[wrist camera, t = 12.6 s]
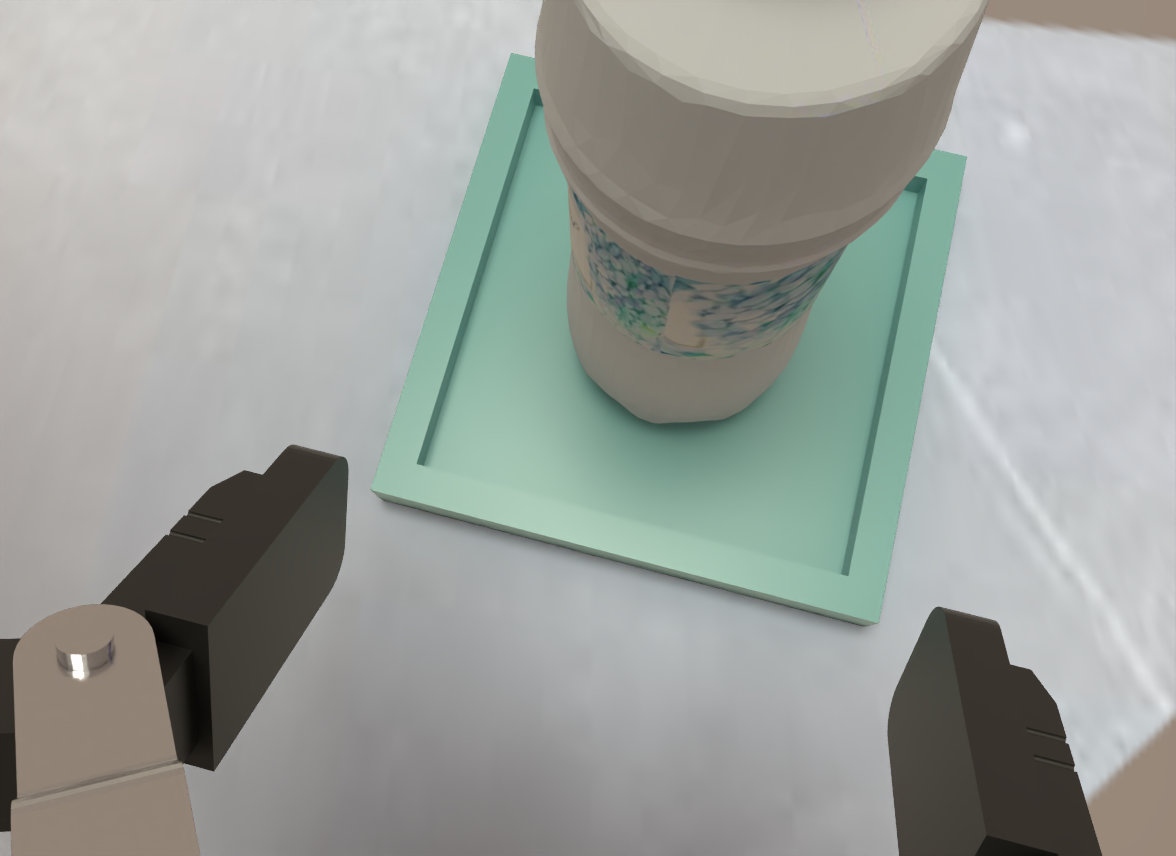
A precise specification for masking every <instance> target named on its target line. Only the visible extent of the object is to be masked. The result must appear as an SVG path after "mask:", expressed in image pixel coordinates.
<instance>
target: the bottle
mask: <svg viewBox="0 0 1176 856" xmlns="http://www.w3.org/2000/svg"><path fill="white" fill-rule="evenodd" d="M988 3H989V0H543V4H542V8H541V12H540V16H539V20H538V24H537V32H536V41H535V71H536V77H537V83H538V88H539V92H540V96H541V99H542V103H543V110H544V118H545V126H546V131H547V135H548V138H549V142H550V146H551V149H552V151H553V153H554V155H555V157H556V160H557V162H558V164H559V166H560V168H561V171H562V173H563V175H564V177H565V179H566V181H567V183H568V201H569V220H570V239H571V256H570V264H569V273H568V281H567V313H568V322H569V330H570V333H571V337H572V341H573V344H574V348H575V351H576V354H577V357H578V359H579V361H580V363H581V365H582V367H583V369H584V371H585V372H586V374H587V375H588V376H589V377H590V378H591V379H592V380H593V381H594V382H595V383H596V384H597V385H598V386H600V387H601V388H602V389H603V390H604V391H605V392H606V393H607V394H608V395H610V396H611V397H612V398H613V399H615V400H616V401H617V402H619V403H620V404H621V405H622V406H624V407H625V408H626V409H627V410H628V411H630V412H631V413H632V414H634V415H635V416H636V417H638V418H640V419H643V420H646V421H648V422H651V423H656V424H661V423H673V422H698V421H708V420H722V419H726V418H728V417H730V416H732V415H734V414H736V413H738V412H740V411H742V410H743V409H744V408H746V407H747V406H749V405H750V404H751V403H752V402H753V401H754V400H755V399H756V398H757V397H759V396H760V395H761V394H762V393H763V392H764V391H765V390H766V389H767V388H768V387H770V386H771V385H772V383H773V382H774V381H775V380H776V378H777V377H778V376H779V375H780V373H781V372H782V371H783V370H784V369H785V367H786V366H787V364H788V362H789V360H790V358H791V357H792V355H793V353H794V351H795V349H796V347H797V345H798V342H799V340H800V338H801V335H802V333H803V331H804V328H805V325H806V323H807V320H808V317H809V314H810V311H811V309H812V306H813V303H814V302H815V300H816V298H817V297H818V295H819V293H820V292H821V290H822V288H823V286H824V285H825V283H826V281H827V280H828V278H829V276H830V274H831V273H832V271H833V269H834V268H835V266H836V264H837V262H838V261H839V259H840V257H841V256H842V254H843V252H844V250H845V249H846V247H847V245H848V244H850V243H851V242H853V241H854V240H856V239H857V238H858V237H859V236H861V235H862V234H863V233H864V232H866V231H867V230H868V229H869V228H871V227H872V226H873V225H874V224H875V223H877V222H878V221H879V220H880V219H881V218H882V217H883V216H884V215H885V214H886V213H887V212H888V211H889V210H890V208H891V207H892V206H893V204H894V203H895V202H896V201H897V199H898V198H899V196H900V195H901V193H902V192H903V190H904V189H905V187H906V185H907V184H908V183H909V182H910V181H911V180H912V179H913V178H914V176H915V175H916V174H917V173H918V171H919V170H920V169H921V168H922V166H923V165H924V164H925V163H926V161H927V160H928V159H929V157H930V155H931V154H932V152H933V150H934V148H935V146H936V144H937V142H938V141H939V139H940V137H941V135H942V133H943V131H944V129H945V127H946V124H947V121H948V118H949V115H950V112H951V109H952V104H953V99H954V96H955V92H956V89H957V86H958V83H959V81H960V78H961V75H962V73H963V70H964V67H965V65H966V62H967V59H968V57H969V54H970V51H971V48H972V46H973V43H974V40H975V38H976V35H977V32H978V30H979V27H980V24H981V22H982V19H983V16H984V14H985V11H986V8H987V5H988Z"/></svg>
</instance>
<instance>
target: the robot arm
mask: <svg viewBox="0 0 1176 856" xmlns="http://www.w3.org/2000/svg"><path fill="white" fill-rule="evenodd" d="M347 491H348V463H347V460H346V458H345V457H341V456H337V455H333V454H329V453H325V452H321V451H317V450H313V449H309V448H305V447H301V446H297V445H290V446H288V447H287V448H286V449H285V450H284V451H283V452H282V453H281V455H280V456H279V457H278V458H277V459H276V460H275V461H274V463H273V464H272V465H271V466H270V467H269V468H268V469H267V471H266V472H265V473H264V474H263V475H261V474H257V473H253V472H249V471H245V470H244V471H242V472H240V473H238V474H236V475H234V476H232V477H230V478H228V479H226V480H224V481H222V482H220V483H218V484H216V485H214V486H212V487H211V488H210V489H209V490H208V491H207V492H206V493H205V494H204V495H203V496H202V497H201V498H200V499H199V500H198V501H197V502H196V503H195V504H194V506H193V507H192V508H191V509H190V510H189V512H188V515H187V516H185V515H184V516H183V517H182V518H181V519H180V520H179V521H178V522H177V524H176V525H175V526H174V527H173V528H172V529H171V530H170V534H169V536H168V535H165V536H164V537H163V538H162V539H161V541H160V542H159V543H158V544H157V545H156V546H155V547H154V548H153V549H152V550H151V551H150V552H149V553H148V554H147V555H146V556H145V557H144V559H143V560H142V561H141V562H140V563H139V564H138V565H137V566H136V567H135V568H134V569H133V570H132V571H131V572H130V573H129V574H128V575H127V577H126V578H125V579H124V580H123V581H122V582H121V583H120V584H119V585H118V586H117V587H116V588H115V589H114V590H113V591H112V592H111V594H110V595H109V596H108V597H107V598H106V599H105V600H104V601H103V602H102V603H101V604H92V605H83V606H78V607H73V608H69V609H66V610H63V611H60V612H57V613H55V614H53V615H51V616H48V617H46V618H45V619H43V620H41V621H40V622H38V623H37V624H35V625H34V626H33V627H32V628H30V629H29V630H28V631H27V632H26V633H25V634H24V635H23V636H22V638H20V639H0V832H5V831H11V847H12V856H200V851H199V846H198V840H197V835H196V830H195V825H194V819H193V814H192V809H191V804H190V798H189V793H188V788H187V783H186V777H185V773H184V768H183V764H184V763H185V764H189V765H193V766H196V767H200V768H203V769H207V770H211V771H215V769H216V768H217V766H218V765H219V763H220V761H221V760H222V758H223V757H224V755H225V754H226V752H227V751H228V749H229V748H230V746H231V744H232V743H233V741H234V740H235V738H236V737H237V735H238V734H239V732H240V730H241V729H242V727H243V726H244V724H245V723H246V721H247V720H248V718H249V717H250V715H251V713H252V712H253V710H254V709H255V707H256V706H257V704H258V703H259V701H260V700H261V698H262V696H263V695H264V693H265V692H266V690H267V689H268V687H269V686H270V684H271V682H272V681H273V679H274V678H275V676H276V675H277V673H278V672H279V670H280V669H281V667H282V665H283V664H284V662H285V661H286V659H287V658H288V656H289V655H290V653H291V651H292V650H293V648H294V647H295V645H296V644H297V642H298V641H299V639H300V638H301V636H302V634H303V633H304V631H305V630H306V628H307V627H308V625H309V624H310V622H311V620H312V619H313V617H314V616H315V614H316V613H317V611H318V610H319V608H320V607H321V605H322V603H323V602H324V600H325V599H326V597H327V596H328V594H329V593H330V591H331V589H332V587H333V585H334V583H335V581H336V579H337V576H338V573H339V570H340V567H341V563H342V560H343V555H344V548H345V532H346V511H347ZM1065 741H1066V734H1065V731H1064V727H1063V724H1062V721H1061V717H1060V714H1059V711H1058V707H1057V704H1056V702H1055V701H1054V700H1053V698H1052V697H1051V696H1050V694H1049V693H1048V692H1047V690H1046V689H1045V688H1044V686H1043V685H1042V684H1041V682H1040V681H1039V680H1038V678H1037V677H1036V676H1035V674H1034V673H1033V672H1032V671H1031V670H1030V669H1026V668H1022V667H1018V666H1014V665H1010V663H1009V659H1008V655H1007V651H1006V648H1005V644H1004V640H1003V636H1002V632H1001V629H1000V626H999V624H998V623H997V622H996V621H995V620H991V619H987V618H983V617H979V616H975V615H971V614H967V613H963V612H959V611H955V610H951V609H947V608H943V607H936V608H935V609H934V610H933V611H932V612H931V614H930V615H929V617H928V619H927V621H926V623H925V626H924V628H923V630H922V632H921V634H920V637H919V639H918V641H917V643H916V645H915V648H914V650H913V652H912V654H911V656H910V659H909V661H908V663H907V665H906V667H905V670H904V672H903V674H902V676H901V678H900V681H899V683H898V685H897V687H896V690H895V692H894V695H893V699H892V702H891V707H890V712H889V719H888V745H889V756H890V766H891V776H892V786H893V797H894V807H895V817H896V827H897V838H898V848H899V856H1102V853H1101V850H1100V847H1099V843H1098V840H1097V837H1096V834H1095V830H1094V827H1093V824H1092V820H1091V817H1090V814H1089V810H1088V807H1087V804H1086V800H1085V797H1084V794H1083V790H1082V787H1081V784H1080V780H1079V777H1078V774H1077V772H1074V766H1075V764H1074V761H1073V757H1072V754H1071V751H1070V747H1069V744H1067V743H1065Z"/></svg>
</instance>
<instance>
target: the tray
mask: <svg viewBox="0 0 1176 856" xmlns="http://www.w3.org/2000/svg"><path fill="white" fill-rule="evenodd" d="M966 159H967V157H966V156H962V155H958V154H953V153H949V152H944V151H940V150H936V149H934V150H933V152H932V154H931V155H930V157H929V159H928V160H927V161H926V163H925V164H924V165H923V166H922V168H921V169H920V170H919V171H918V173H917V174H916V175H915V176H914V178H913V179H912V180H911V181H910V182H909V183H908V184H907V185H906V187H905V189H904V190H903V192H902V193H901V195H900V196H899V198H898V199H897V201H896V202H895V203H894V204H893V206H892V207H891V208H890V210H889V211H888V212H887V213H886V214H885V215H884V216H883V217H882V218H881V219H880V220H879V221H878V222H877V223H875V224H874V225H873V226H872V227H871V228H869V229H868V230H867V231H866V232H864V233H863V234H862V235H861V236H859V237H858V238H857V239H856V240H854V241H853V242H851V243H850V244H848V245H847V247H846V249H845V250H844V252H843V254H842V256H841V257H840V259H839V261H838V262H837V264H836V266H835V268H834V269H833V271H832V273H831V274H830V276H829V278H828V280H827V281H826V283H825V285H824V286H823V288H822V290H821V292H820V293H819V295H818V297H817V298H816V300H815V302H814V303H813V306H812V309H811V311H810V314H809V317H808V320H807V323H806V325H805V328H804V331H803V333H802V335H801V338H800V340H799V342H798V345H797V347H796V349H795V351H794V353H793V355H792V357H791V358H790V360H789V362H788V364H787V366H786V367H785V369H784V370H783V371H782V372H781V373H780V375H779V376H778V377H777V378H776V380H775V381H774V382H773V383H772V385H771V386H770V387H768V388H767V389H766V390H765V391H764V392H763V393H762V394H761V395H760V396H759V397H757V398H756V399H755V400H754V401H753V402H752V403H751V404H750V405H749V406H747V407H746V408H744V409H743V410H742V411H740V412H738V413H736V414H734V415H732V416H730V417H728V418H726V419H722V420H708V421H698V422H673V423H661V424H656V423H651V422H648V421H646V420H643V419H640V418H638V417H636V416H635V415H634V414H632V413H631V412H630V411H628V410H627V409H626V408H625V407H624V406H622V405H621V404H620V403H619V402H617V401H616V400H615V399H613V398H612V397H611V396H610V395H608V394H607V393H606V392H605V391H604V390H603V389H602V388H601V387H600V386H598V385H597V384H596V383H595V382H594V381H593V380H592V379H591V378H590V377H589V376H588V375H587V374H586V372H585V371H584V369H583V367H582V365H581V363H580V361H579V359H578V357H577V354H576V351H575V348H574V344H573V341H572V337H571V333H570V330H569V322H568V313H567V281H568V273H569V264H570V256H571V239H570V220H569V201H568V183H567V181H566V179H565V177H564V175H563V173H562V171H561V168H560V166H559V164H558V162H557V160H556V157H555V155H554V153H553V151H552V149H551V146H550V142H549V138H548V135H547V131H546V126H545V118H544V110H543V103H542V99H541V96H540V92H539V88H538V83H537V77H536V71H535V58H531V57H527V56H523V55H518V54H514V53H511V55H510V58H509V61H508V64H507V67H506V70H505V73H504V76H503V80H502V83H501V86H500V89H499V92H498V95H497V98H496V101H495V104H494V107H493V111H492V114H491V117H490V120H489V123H488V126H487V129H486V132H485V135H484V139H483V142H482V145H481V148H480V151H479V154H478V157H477V160H476V163H475V166H474V170H473V173H472V176H471V179H470V182H469V185H468V188H467V191H466V194H465V198H464V201H463V204H462V207H461V210H460V213H459V216H458V219H457V222H456V225H455V229H454V232H453V235H452V238H451V241H450V244H449V247H448V250H447V253H446V257H445V260H444V263H443V266H442V269H441V272H440V275H439V278H438V281H437V284H436V288H435V291H434V294H433V297H432V300H431V303H430V306H429V309H428V312H427V316H426V319H425V322H424V325H423V328H422V331H421V334H420V337H419V340H418V343H417V347H416V350H415V353H414V356H413V359H412V362H411V365H410V368H409V371H408V375H407V378H406V381H405V384H404V387H403V390H402V393H401V396H400V399H399V402H398V406H397V409H396V412H395V415H394V418H393V421H392V424H391V427H390V430H389V433H388V437H387V440H386V443H385V446H384V449H383V452H382V455H381V458H380V461H379V465H378V468H377V471H376V474H375V477H374V480H373V483H372V486H371V489H370V490H371V491H372V492H374V493H375V494H376V495H377V496H378V497H379V498H381V499H382V500H386V501H389V502H393V503H397V504H401V505H405V506H408V507H412V508H416V509H420V510H424V511H427V512H431V513H435V514H439V515H443V516H446V517H450V518H454V519H458V520H462V521H465V522H469V523H473V524H477V525H481V526H484V527H488V528H492V529H496V530H500V531H503V532H507V533H511V534H515V535H519V536H522V537H526V538H530V539H534V540H538V541H541V542H545V543H549V544H553V545H557V546H560V547H564V548H568V549H572V550H576V551H579V552H583V553H587V554H591V555H595V556H598V557H602V558H606V559H610V560H614V561H617V562H621V563H625V564H629V565H633V566H636V567H640V568H644V569H648V570H652V571H656V572H659V573H663V574H667V575H671V576H675V577H678V578H682V579H686V580H690V581H694V582H697V583H701V584H705V585H709V586H713V587H716V588H720V589H724V590H728V591H732V592H735V593H739V594H743V595H747V596H751V597H754V598H758V599H762V600H766V601H770V602H773V603H777V604H781V605H785V606H789V607H792V608H796V609H800V610H804V611H808V612H811V613H815V614H819V615H823V616H827V617H830V618H834V619H838V620H842V621H846V622H849V623H853V624H857V625H861V626H867V625H872V624H877V623H879V618H880V613H881V607H882V602H883V597H884V592H885V586H886V581H887V576H888V570H889V565H890V560H891V555H892V549H893V544H894V539H895V534H896V528H897V523H898V518H899V513H900V507H901V502H902V497H903V491H904V486H905V481H906V476H907V470H908V465H909V460H910V455H911V449H912V444H913V439H914V433H915V428H916V423H917V418H918V412H919V407H920V402H921V397H922V391H923V386H924V381H925V375H926V370H927V365H928V360H929V354H930V349H931V344H932V339H933V333H934V328H935V323H936V317H937V312H938V307H939V302H940V296H941V291H942V286H943V281H944V275H945V270H946V265H947V259H948V254H949V249H950V244H951V238H952V233H953V228H954V223H955V217H956V212H957V207H958V201H959V196H960V191H961V186H962V180H963V175H964V170H965V165H966Z"/></svg>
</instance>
